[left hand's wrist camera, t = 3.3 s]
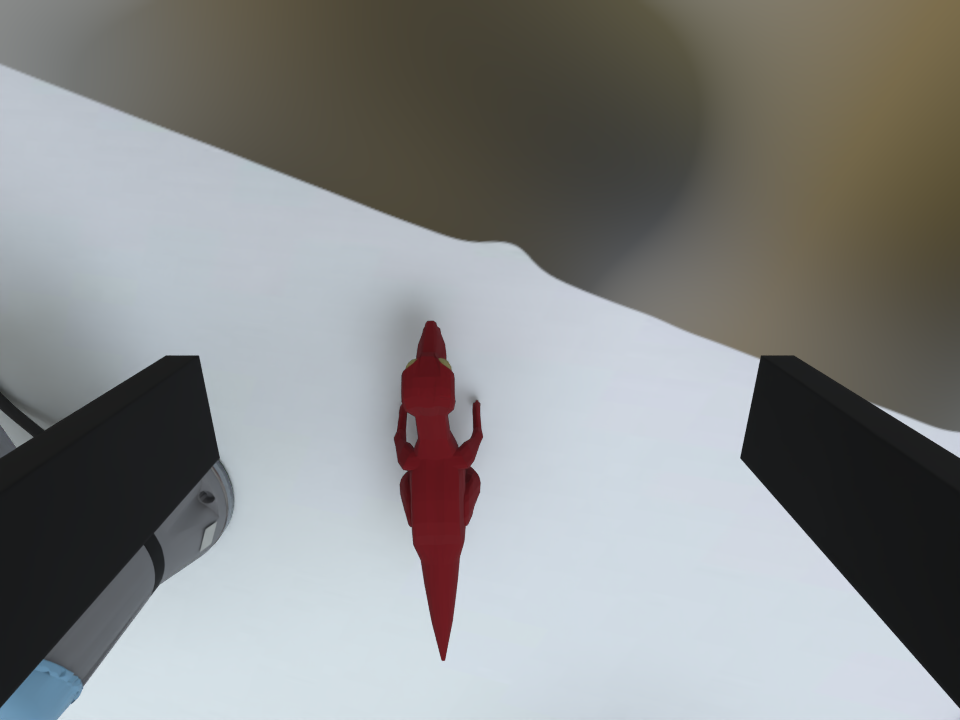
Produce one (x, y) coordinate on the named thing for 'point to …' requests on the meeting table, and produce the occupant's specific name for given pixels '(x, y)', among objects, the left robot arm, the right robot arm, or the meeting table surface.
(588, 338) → the meeting table surface
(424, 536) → the toy
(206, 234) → the meeting table surface
